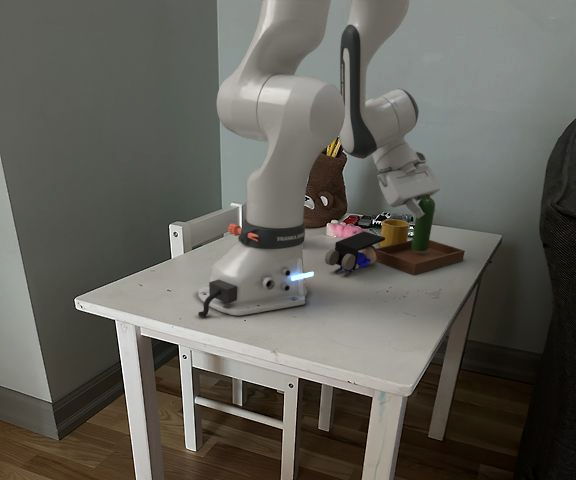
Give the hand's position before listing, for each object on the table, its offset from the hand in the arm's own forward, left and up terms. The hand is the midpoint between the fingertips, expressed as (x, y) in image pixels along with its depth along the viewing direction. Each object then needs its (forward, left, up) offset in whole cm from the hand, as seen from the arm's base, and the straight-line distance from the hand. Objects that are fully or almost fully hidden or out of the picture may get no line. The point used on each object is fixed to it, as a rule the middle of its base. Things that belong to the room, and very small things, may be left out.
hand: (427, 215), depth 132 cm
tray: (-2, -1, -11) cm, 11 cm away
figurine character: (-21, +3, -11) cm, 24 cm away
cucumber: (0, +1, -8) cm, 8 cm away
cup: (+2, +11, -11) cm, 15 cm away
